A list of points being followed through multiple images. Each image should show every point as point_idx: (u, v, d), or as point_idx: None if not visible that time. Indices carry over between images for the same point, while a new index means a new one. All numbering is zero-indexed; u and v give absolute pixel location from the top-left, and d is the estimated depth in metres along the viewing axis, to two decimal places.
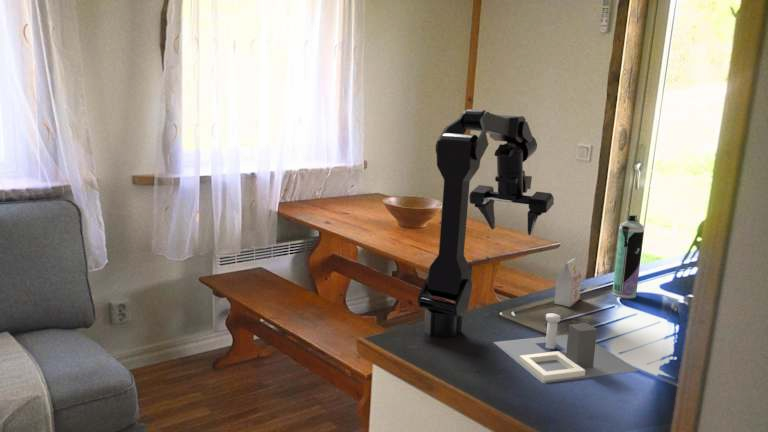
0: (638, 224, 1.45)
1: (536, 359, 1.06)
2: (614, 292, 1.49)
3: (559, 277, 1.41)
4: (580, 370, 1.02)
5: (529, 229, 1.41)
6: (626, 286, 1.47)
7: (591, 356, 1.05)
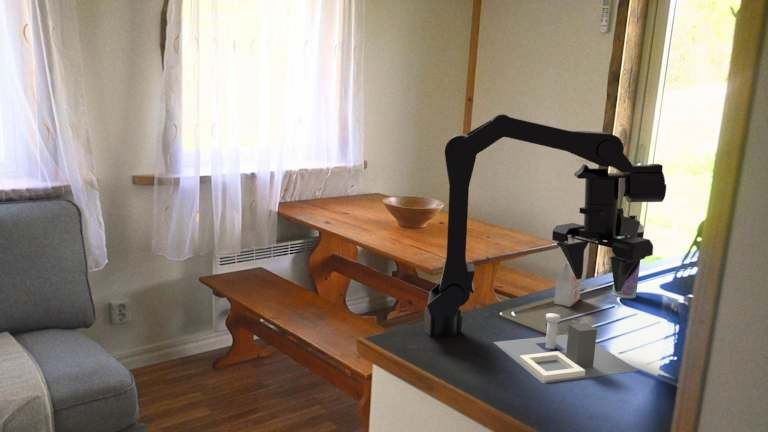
0: None
1: (536, 359, 1.06)
2: (614, 292, 1.49)
3: (559, 277, 1.41)
4: (580, 370, 1.02)
5: (615, 283, 1.08)
6: (626, 286, 1.47)
7: (591, 356, 1.05)
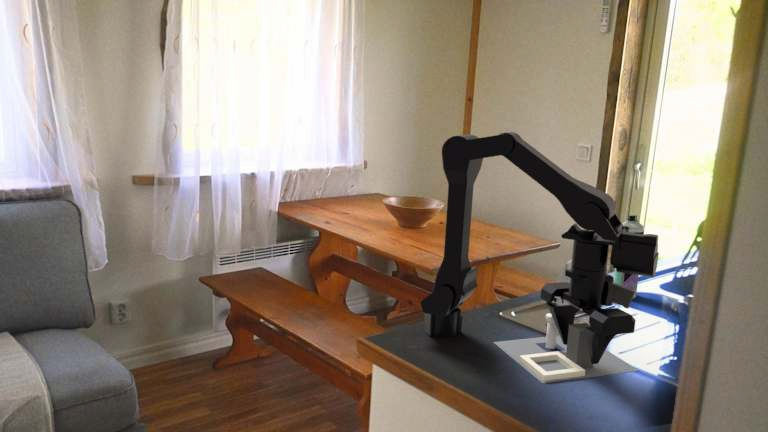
0: (638, 224, 1.45)
1: (536, 359, 1.06)
2: None
3: (559, 277, 1.41)
4: (580, 370, 1.02)
5: (591, 354, 1.01)
6: (626, 286, 1.47)
7: None
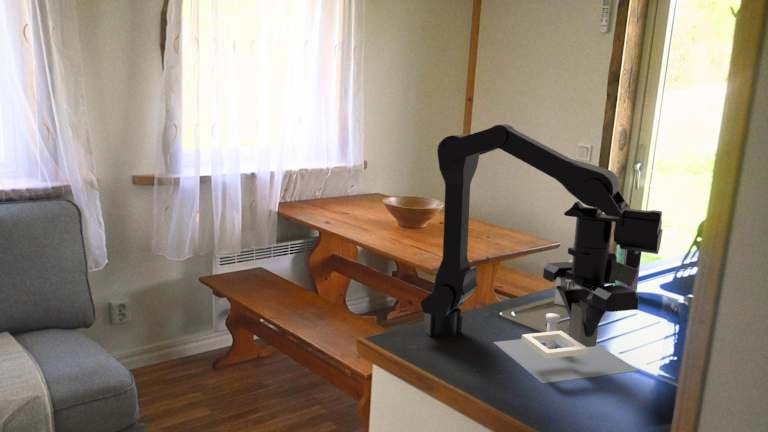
0: None
1: (539, 338, 1.06)
2: None
3: None
4: (583, 348, 1.01)
5: (585, 327, 1.02)
6: (626, 286, 1.47)
7: (594, 335, 1.04)
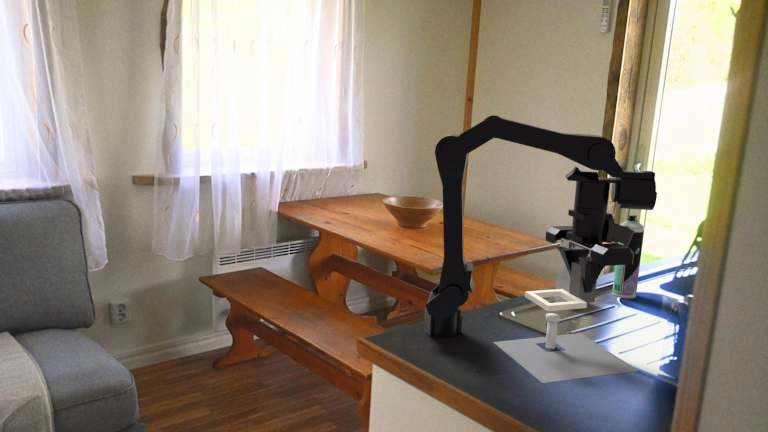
0: (638, 224, 1.45)
1: (541, 294, 1.13)
2: (614, 292, 1.49)
3: (559, 277, 1.41)
4: (582, 302, 1.08)
5: (584, 283, 1.09)
6: (626, 286, 1.47)
7: (593, 291, 1.11)
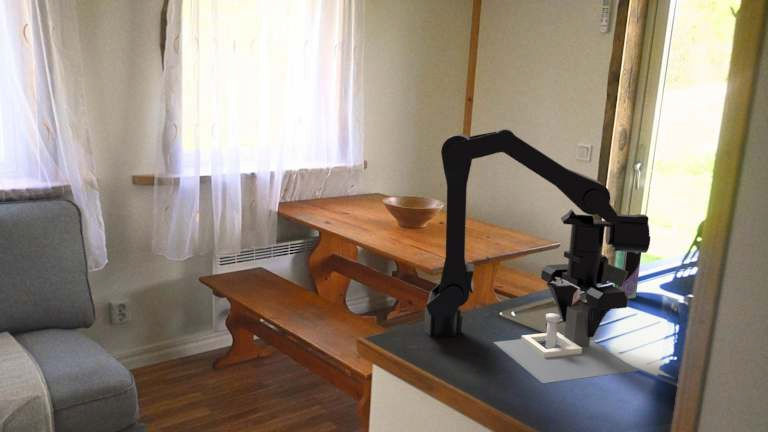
0: None
1: (537, 338, 1.15)
2: None
3: None
4: (577, 348, 1.11)
5: (586, 328, 1.10)
6: (626, 286, 1.47)
7: None
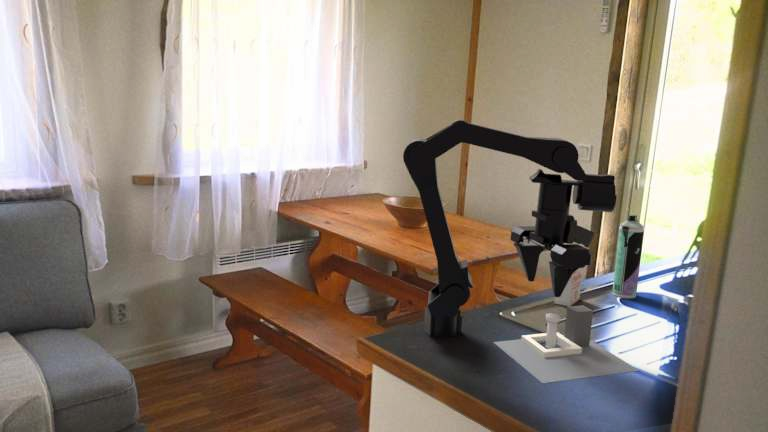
0: (638, 224, 1.45)
1: (537, 338, 1.15)
2: (614, 292, 1.49)
3: None
4: (577, 348, 1.11)
5: (553, 287, 1.10)
6: (626, 286, 1.47)
7: (588, 336, 1.14)
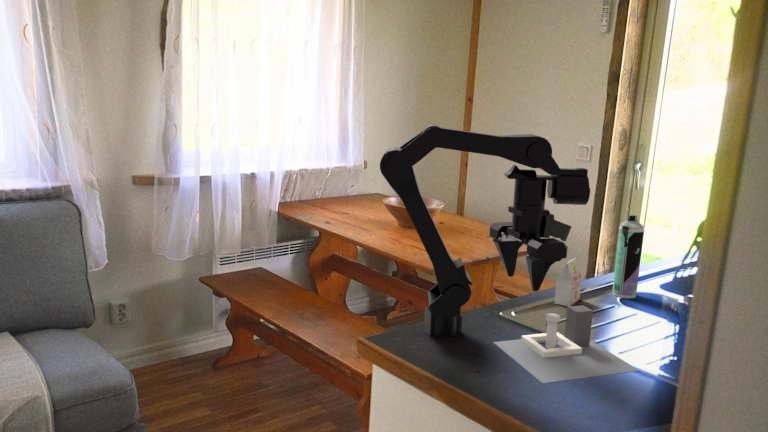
0: (638, 224, 1.45)
1: (537, 338, 1.15)
2: (614, 292, 1.49)
3: (559, 277, 1.41)
4: (577, 348, 1.11)
5: (531, 282, 1.11)
6: (626, 286, 1.47)
7: (588, 336, 1.14)
